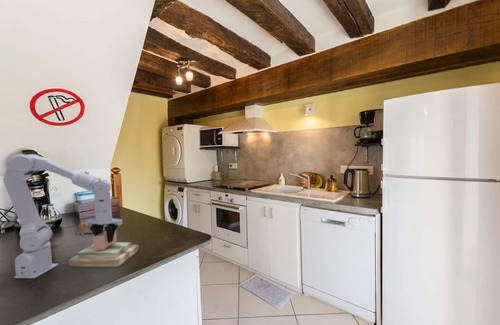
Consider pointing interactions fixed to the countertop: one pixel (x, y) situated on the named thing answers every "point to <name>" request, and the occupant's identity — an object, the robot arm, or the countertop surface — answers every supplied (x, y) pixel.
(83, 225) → the lion figurine
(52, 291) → the countertop surface
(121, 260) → the tower base
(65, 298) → the countertop surface
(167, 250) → the countertop surface
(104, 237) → the terracotta brick
